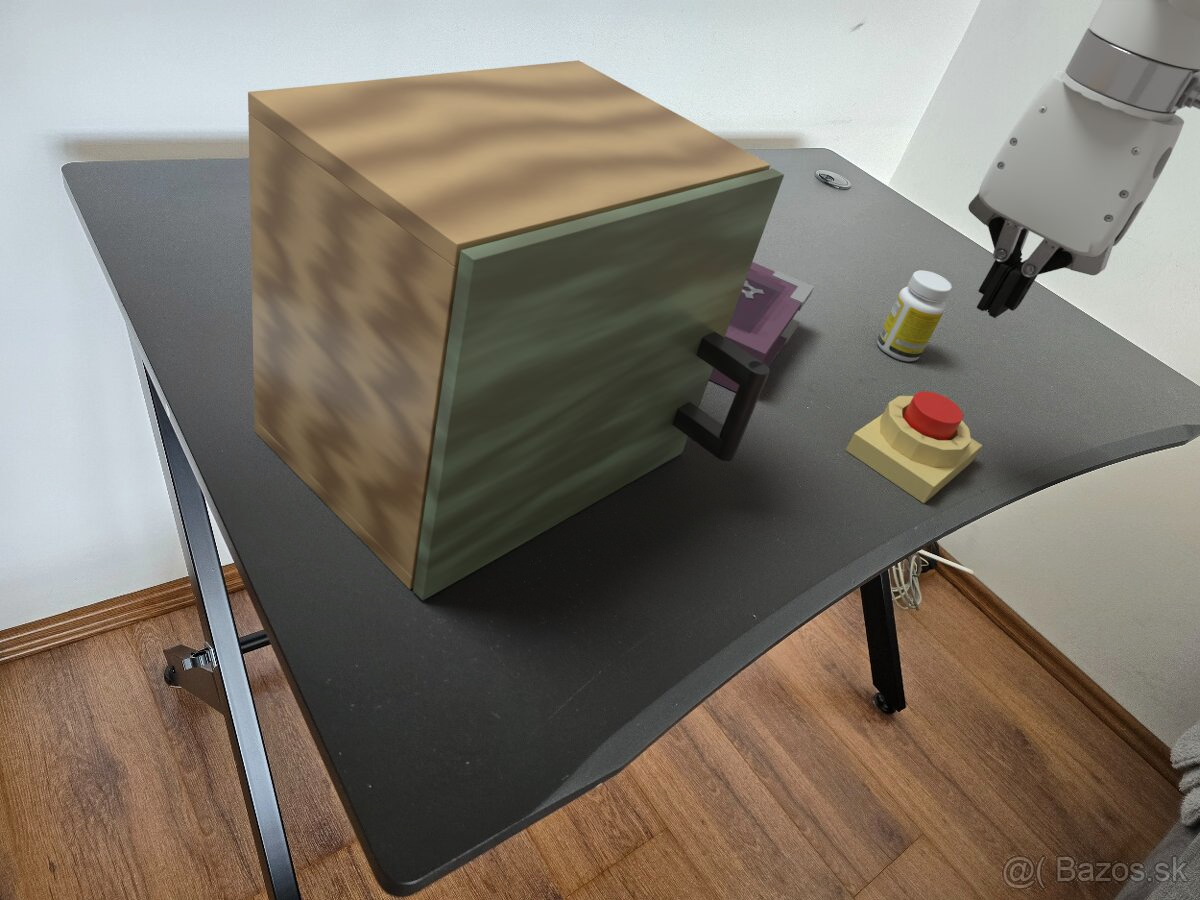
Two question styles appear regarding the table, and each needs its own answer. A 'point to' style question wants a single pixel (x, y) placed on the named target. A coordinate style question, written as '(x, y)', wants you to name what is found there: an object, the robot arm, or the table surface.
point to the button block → (912, 452)
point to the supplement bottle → (914, 316)
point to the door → (586, 366)
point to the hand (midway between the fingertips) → (992, 308)
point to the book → (764, 316)
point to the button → (933, 415)
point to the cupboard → (420, 250)
